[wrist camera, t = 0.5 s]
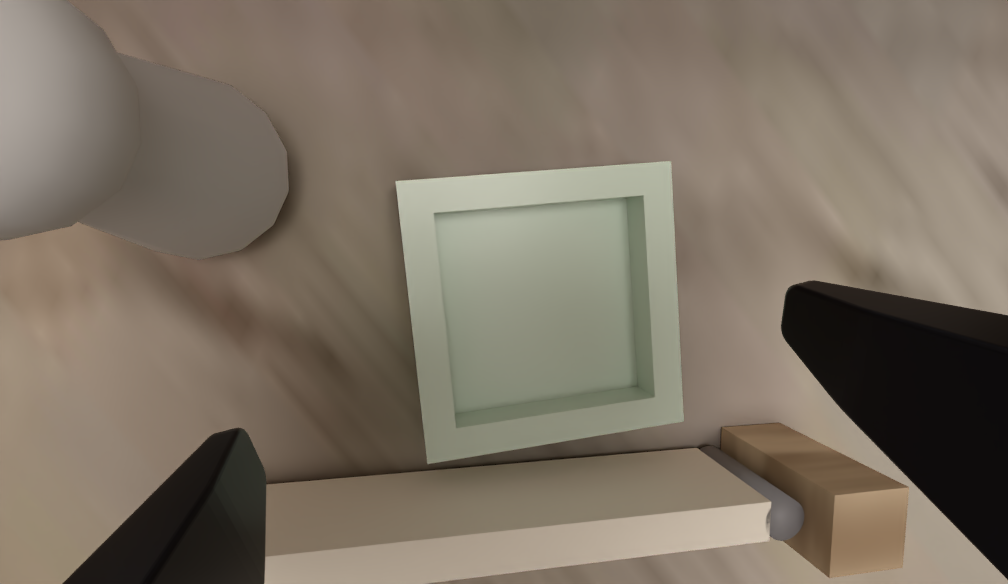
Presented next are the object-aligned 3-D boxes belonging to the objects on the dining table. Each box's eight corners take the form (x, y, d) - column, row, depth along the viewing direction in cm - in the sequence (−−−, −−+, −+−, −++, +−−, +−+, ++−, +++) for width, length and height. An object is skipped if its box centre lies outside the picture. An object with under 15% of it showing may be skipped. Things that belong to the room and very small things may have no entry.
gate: (723, 478, 25) (802, 538, 20) (247, 524, 21) (201, 613, 16) (724, 444, 25) (805, 496, 20) (245, 485, 21) (197, 562, 16)
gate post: (776, 483, 26) (902, 567, 19) (719, 489, 25) (829, 577, 19) (779, 422, 25) (908, 487, 19) (721, 427, 25) (834, 495, 18)
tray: (658, 404, 24) (683, 421, 22) (424, 441, 22) (427, 464, 20) (645, 168, 23) (671, 161, 21) (395, 186, 21) (395, 181, 19)
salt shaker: (94, 187, 19) (-527, 91, 6) (196, 60, 19) (-205, -281, 6) (239, 286, 20) (-32, 377, 8) (333, 167, 20) (224, 56, 8)
